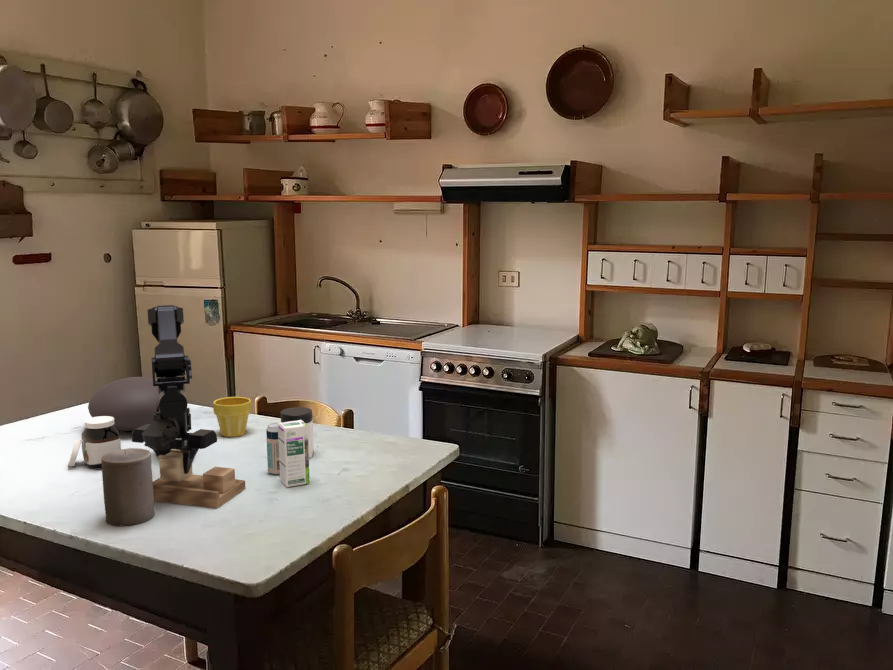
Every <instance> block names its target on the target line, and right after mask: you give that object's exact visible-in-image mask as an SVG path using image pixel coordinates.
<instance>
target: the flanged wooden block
mask: <svg viewBox="0 0 893 670" xmlns="http://www.w3.org/2000/svg"><path fill="white" fill-rule="evenodd" d="M157 460H158V464H159V465H158V466H159V478H160V479H163V480H171V481H181V480H183V479H185V478H186V477H188V476H190V475H191V474H192V475H194V473H193V464H192V465H191V468H190V470H189V473H187V474H185V473H184V467H183V453H182V452H181V450H178V449H171V450H170V453H168V454H166V455H159V456H158V457H157Z"/></svg>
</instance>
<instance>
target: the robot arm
mask: <svg viewBox="0 0 893 670" xmlns="http://www.w3.org/2000/svg"><path fill="white" fill-rule="evenodd" d="M146 310H147V325H148V327H151V334H152V336H153V337H154V338H155V340H156V341H157V343H158V344H157V345H156V346H155V347H154V349H153V350H154V357H151V372H152V373H151V374H152V378H153V386H158V399H159V400H158V401H157V403H156V408H157V411H156V412H154V423H152V424H145V425H143V426H141V427H138V428H136V429H134V430H133V431H131V432H132V433H131V442H132V443H136V444H138V443H139V444H143V443H144V444H143V445H144V447H148V448H149V449H151V450H153V453H154V454H155V456H156V458H158V456H159V455H166V454H168V453H170V450H171V449H178V450H181V452H182V453H183V467H184V473H185V474H187V473H189V470H190V468H191V465H192V466H193V462H194V461H195V457H196V455H197V453H198V451H199V450H203V449H206V448H208V447H209V446H212V445H214V444H215V443H217V442H218V434H217V432H216V431H215V430H213V429H205V428H200V429H198V430H196V431H193V432H189V431H190V430H192V413H190V411H191V410H190V407H188V399H187V395H186V385H187V384H189V385H190V384H191V383H190V382H191V379H193V372H192V360H191V359H190V358H189V357H190V356H188V355H185V349H184V348H185V347H184V345H182V344H181V343H180V342H178V338H179V336H180V335H181V333H182V325H184V323H185V320H184V319H185V317H184V316H185V315H184V308H183V307H179V306H178V305H174V304H163V305H162V304H160V305H159V304H158V305H156V306H152V308H149V309H146ZM185 375H186V376H185ZM155 379H157V381H155Z"/></svg>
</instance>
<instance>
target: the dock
mask: <svg viewBox="0 0 893 670" xmlns="http://www.w3.org/2000/svg"><path fill="white" fill-rule="evenodd" d="M244 490H246V480H245V479H237V478H235V486H234V487H232V488H231V489H229V490H228V491H226V492H225V493H219V491H212V490H203V475H200V474H191V475H190V476H188V477H186V478H185V479H183V480H181V481H171V480H163V479H160V477H159V478H157V479H155V480H153V494H154V502H155V501H156V502H163V503H172V504H180V505H188V506H196V507H204V508H212V509H213V508H214V509H219V508H221V506H224V504H226V503H227V502H229V501H230V500H231V499H233V498H234V497H236V496H237V495H238V494H240V493H242V492H243V491H244Z"/></svg>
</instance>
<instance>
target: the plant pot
mask: <svg viewBox="0 0 893 670" xmlns="http://www.w3.org/2000/svg"><path fill="white" fill-rule="evenodd" d="M212 406H213V408H212V410H213V414H214V415H215V416H216V419H217V423H218V427H219V432H220V434H221V436H223V437H226V438H236V437H241V436H243V435H245V434H246V430H247V425H248V420H249V414H250V413H251V411H252V400H251V399H250V398H249V397H243V396H228V397H227V396H226V397H221V398H218V399H215V400H213V403H212Z"/></svg>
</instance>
